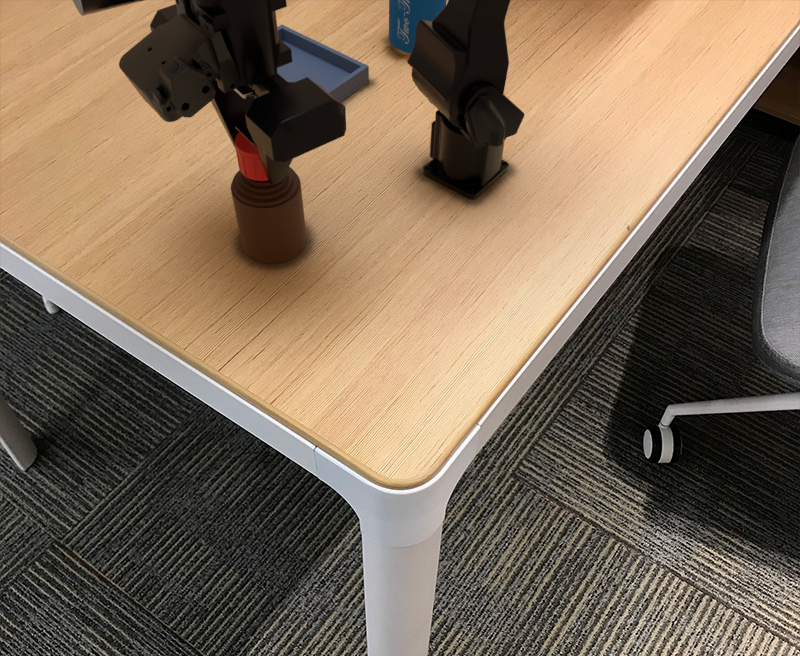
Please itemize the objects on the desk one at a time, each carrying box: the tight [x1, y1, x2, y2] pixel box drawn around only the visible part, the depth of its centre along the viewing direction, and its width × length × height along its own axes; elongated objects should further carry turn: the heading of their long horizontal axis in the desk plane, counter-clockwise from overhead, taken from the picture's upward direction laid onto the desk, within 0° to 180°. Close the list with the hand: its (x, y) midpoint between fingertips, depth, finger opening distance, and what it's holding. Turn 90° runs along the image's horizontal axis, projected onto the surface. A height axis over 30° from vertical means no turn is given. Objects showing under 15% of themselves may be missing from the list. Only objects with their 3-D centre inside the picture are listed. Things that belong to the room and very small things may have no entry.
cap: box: [235, 132, 268, 181], centre depth 63 cm, size 4×4×3 cm
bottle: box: [230, 166, 308, 265], centre depth 67 cm, size 6×6×10 cm
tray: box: [255, 24, 370, 103], centre depth 85 cm, size 13×11×2 cm
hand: (259, 165), depth 64 cm, fingers open, 5 cm apart
